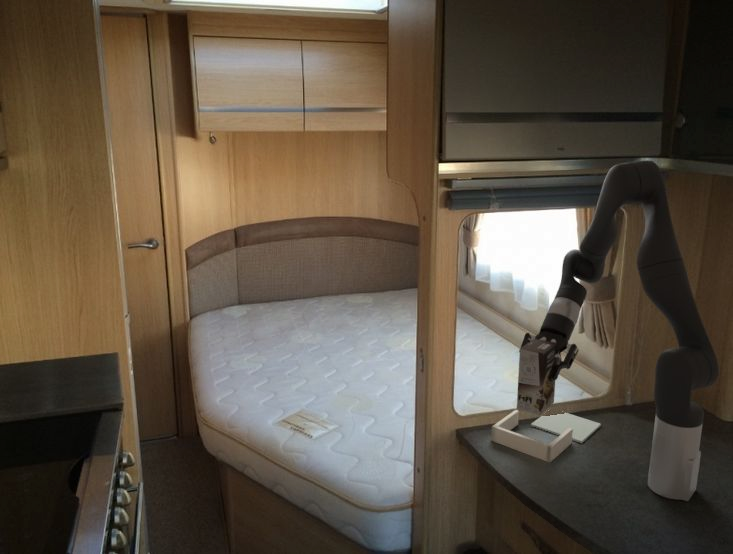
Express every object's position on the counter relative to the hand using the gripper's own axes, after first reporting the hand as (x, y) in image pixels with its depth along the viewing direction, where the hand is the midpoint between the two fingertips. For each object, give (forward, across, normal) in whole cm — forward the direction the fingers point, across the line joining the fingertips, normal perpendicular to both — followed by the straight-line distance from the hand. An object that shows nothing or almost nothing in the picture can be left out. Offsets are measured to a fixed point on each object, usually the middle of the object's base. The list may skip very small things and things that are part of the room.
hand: (536, 376), depth 161 cm
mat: (+3, +3, +22) cm, 22 cm away
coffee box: (+6, 0, +6) cm, 8 cm away
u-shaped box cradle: (+13, 0, +12) cm, 18 cm away
